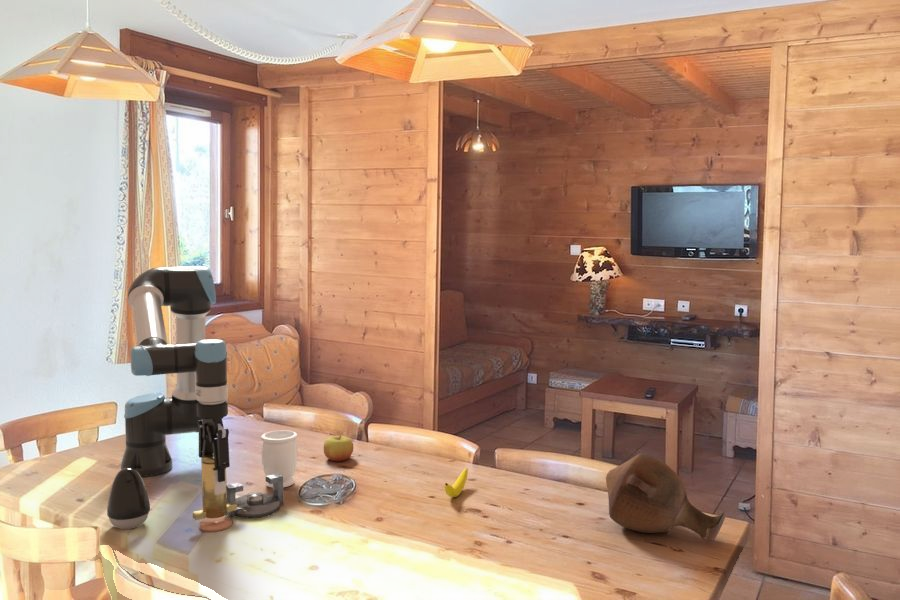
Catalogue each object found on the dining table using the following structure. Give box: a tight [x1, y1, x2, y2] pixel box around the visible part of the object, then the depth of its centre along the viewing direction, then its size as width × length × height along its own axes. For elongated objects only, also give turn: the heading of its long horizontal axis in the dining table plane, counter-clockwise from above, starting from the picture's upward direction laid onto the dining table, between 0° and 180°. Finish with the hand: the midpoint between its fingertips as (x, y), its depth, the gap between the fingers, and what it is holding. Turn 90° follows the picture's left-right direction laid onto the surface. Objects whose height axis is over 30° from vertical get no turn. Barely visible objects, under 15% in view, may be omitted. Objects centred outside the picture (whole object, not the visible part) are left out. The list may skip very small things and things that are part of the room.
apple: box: [323, 435, 354, 462], centre depth 256 cm, size 10×10×8 cm
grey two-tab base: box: [225, 473, 284, 519], centre depth 212 cm, size 13×16×8 cm
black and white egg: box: [106, 468, 151, 530], centre depth 200 cm, size 10×10×15 cm
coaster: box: [198, 515, 233, 533], centre depth 201 cm, size 8×8×1 cm
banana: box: [444, 467, 469, 498], centre depth 224 cm, size 3×19×6 cm, turn 161°
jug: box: [605, 452, 727, 542], centre depth 197 cm, size 20×20×30 cm
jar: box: [261, 429, 298, 489], centre depth 232 cm, size 11×10×15 cm
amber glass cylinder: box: [192, 454, 237, 521], centre depth 200 cm, size 6×11×15 cm, turn 130°
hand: (214, 489), depth 200 cm, fingers closed on amber glass cylinder, 6 cm apart
